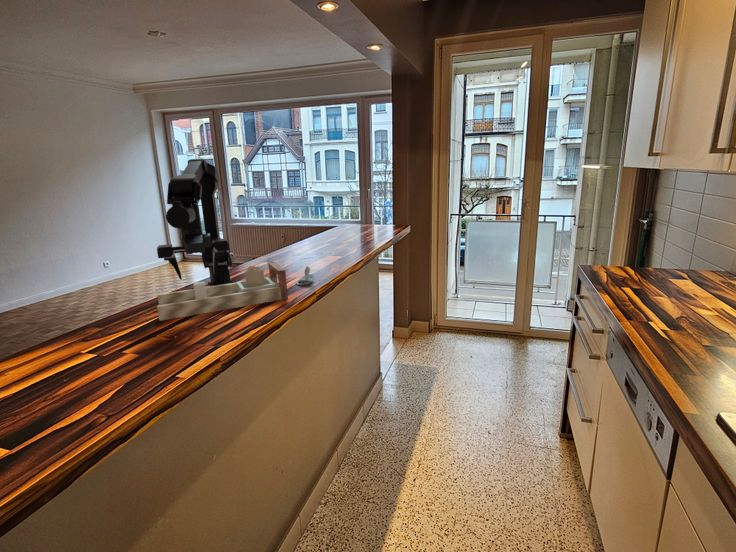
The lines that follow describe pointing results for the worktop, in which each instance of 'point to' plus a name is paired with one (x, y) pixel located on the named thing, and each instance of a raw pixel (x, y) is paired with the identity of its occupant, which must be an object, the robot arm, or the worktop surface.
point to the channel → (220, 297)
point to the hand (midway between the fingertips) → (198, 277)
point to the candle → (254, 276)
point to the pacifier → (306, 277)
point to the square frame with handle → (241, 287)
